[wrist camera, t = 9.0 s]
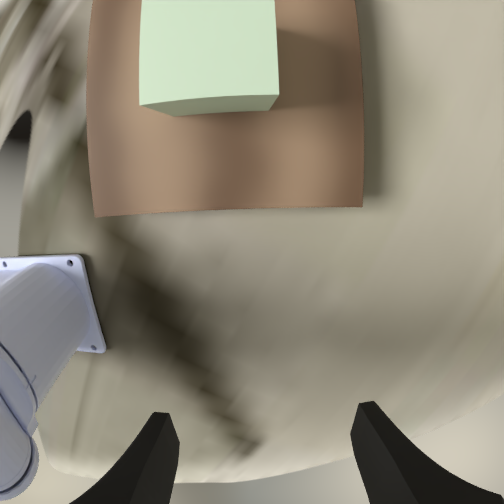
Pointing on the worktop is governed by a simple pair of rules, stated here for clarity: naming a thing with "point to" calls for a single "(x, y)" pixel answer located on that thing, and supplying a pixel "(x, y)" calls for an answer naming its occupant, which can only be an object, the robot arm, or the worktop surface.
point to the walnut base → (230, 123)
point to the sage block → (208, 56)
